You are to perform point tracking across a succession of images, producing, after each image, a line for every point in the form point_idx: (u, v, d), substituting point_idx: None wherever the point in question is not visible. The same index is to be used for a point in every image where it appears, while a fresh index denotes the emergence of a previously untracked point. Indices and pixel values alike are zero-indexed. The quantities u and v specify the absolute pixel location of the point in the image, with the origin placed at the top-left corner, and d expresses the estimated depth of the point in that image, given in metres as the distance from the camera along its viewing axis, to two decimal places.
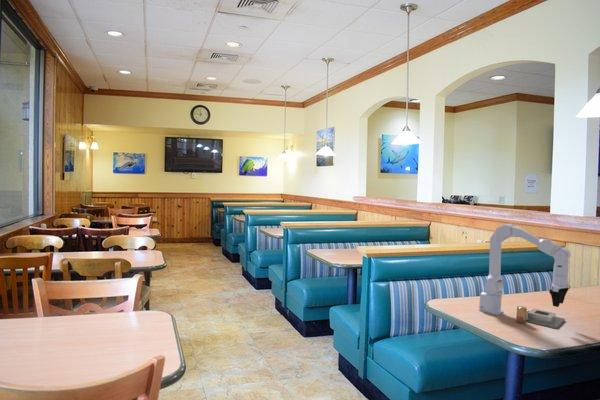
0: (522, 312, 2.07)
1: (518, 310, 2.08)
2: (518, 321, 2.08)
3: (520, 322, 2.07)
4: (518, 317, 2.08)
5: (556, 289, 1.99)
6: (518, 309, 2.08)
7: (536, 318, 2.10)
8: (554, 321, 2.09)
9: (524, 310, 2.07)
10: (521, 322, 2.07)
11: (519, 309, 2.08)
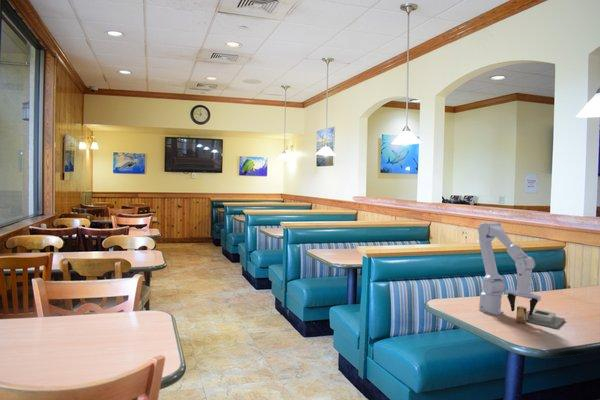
0: (522, 312, 2.07)
1: (518, 310, 2.08)
2: (518, 321, 2.08)
3: (520, 322, 2.07)
4: (518, 317, 2.08)
5: None
6: (518, 309, 2.08)
7: (536, 318, 2.10)
8: (554, 321, 2.09)
9: (524, 310, 2.07)
10: (521, 322, 2.07)
11: (519, 309, 2.08)
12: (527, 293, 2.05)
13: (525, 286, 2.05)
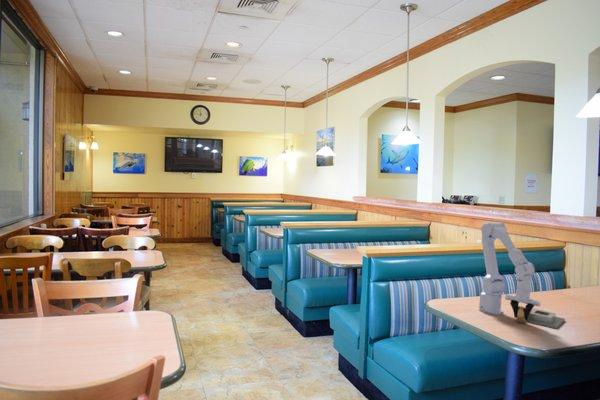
0: (522, 312, 2.07)
1: (518, 310, 2.08)
2: (518, 321, 2.08)
3: (520, 322, 2.07)
4: (518, 317, 2.08)
5: None
6: (518, 309, 2.08)
7: (536, 318, 2.10)
8: (554, 321, 2.09)
9: (524, 310, 2.07)
10: (521, 322, 2.07)
11: (519, 309, 2.08)
12: (526, 299, 2.05)
13: (525, 292, 2.05)
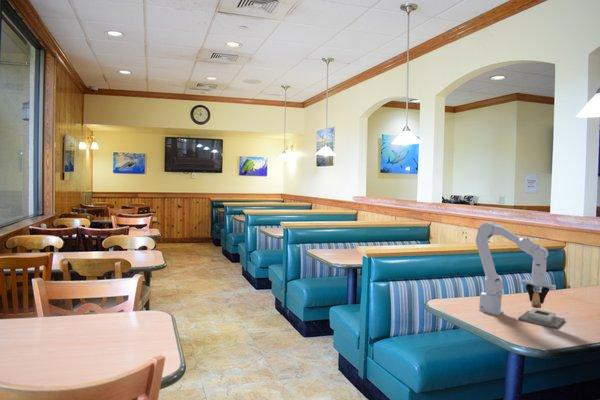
0: (537, 296, 2.09)
1: (533, 294, 2.10)
2: (533, 305, 2.10)
3: (535, 306, 2.10)
4: (533, 301, 2.10)
5: None
6: (533, 293, 2.10)
7: (536, 318, 2.10)
8: (554, 321, 2.09)
9: (539, 294, 2.09)
10: (536, 306, 2.09)
11: (534, 293, 2.10)
12: (542, 282, 2.08)
13: (540, 276, 2.08)
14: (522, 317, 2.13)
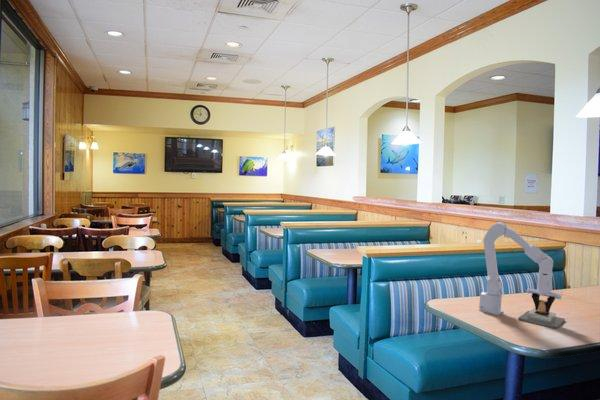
0: (543, 306, 2.11)
1: (539, 304, 2.12)
2: None
3: None
4: (538, 310, 2.12)
5: None
6: (539, 303, 2.12)
7: (536, 318, 2.10)
8: (554, 321, 2.09)
9: (545, 304, 2.10)
10: None
11: (539, 303, 2.12)
12: (548, 292, 2.10)
13: (546, 285, 2.09)
14: (522, 317, 2.13)
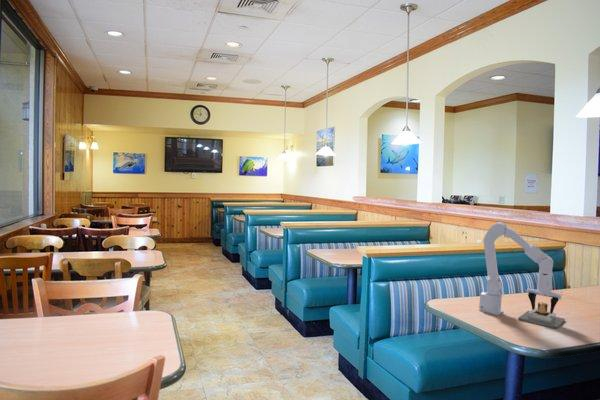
0: (543, 308, 2.11)
1: (539, 306, 2.12)
2: None
3: None
4: (538, 312, 2.12)
5: None
6: (539, 305, 2.12)
7: (536, 318, 2.10)
8: (554, 321, 2.09)
9: (545, 306, 2.11)
10: None
11: (539, 305, 2.12)
12: (548, 292, 2.10)
13: (546, 285, 2.09)
14: (522, 317, 2.13)
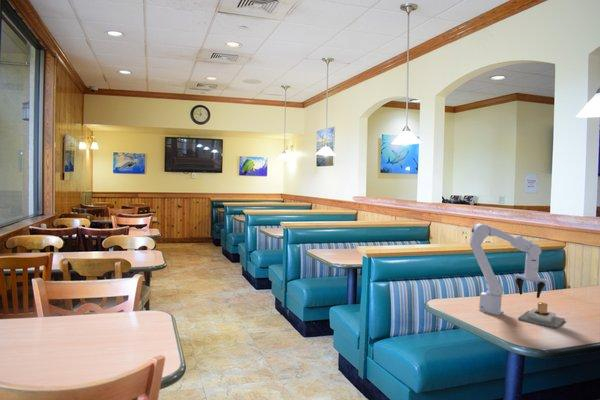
0: (543, 308, 2.11)
1: (539, 306, 2.12)
2: None
3: None
4: (538, 313, 2.12)
5: None
6: (539, 305, 2.12)
7: (536, 318, 2.10)
8: (554, 321, 2.09)
9: (545, 306, 2.11)
10: None
11: (539, 305, 2.12)
12: (535, 277, 2.17)
13: (533, 270, 2.17)
14: (522, 317, 2.13)
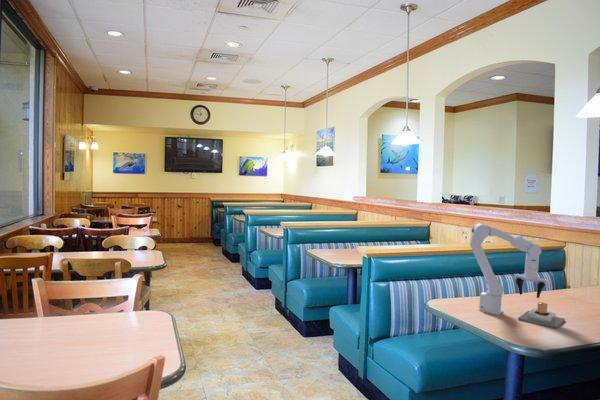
0: (542, 308, 2.11)
1: (539, 306, 2.12)
2: None
3: None
4: (538, 313, 2.12)
5: None
6: (539, 305, 2.12)
7: (536, 318, 2.10)
8: (554, 321, 2.09)
9: (544, 306, 2.11)
10: None
11: (539, 305, 2.12)
12: (535, 277, 2.17)
13: (533, 270, 2.17)
14: (522, 317, 2.13)
